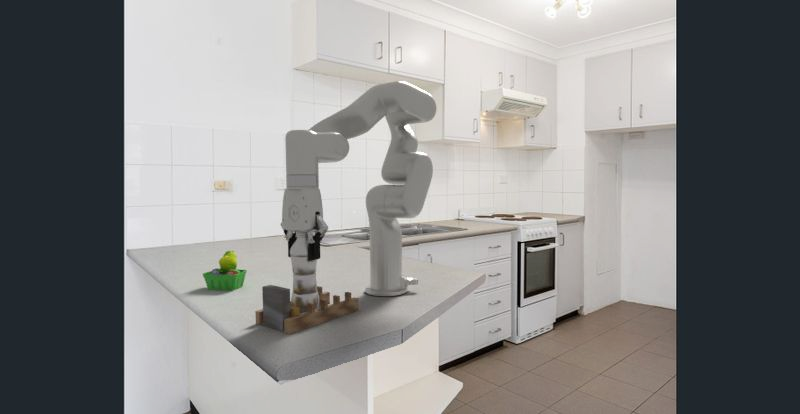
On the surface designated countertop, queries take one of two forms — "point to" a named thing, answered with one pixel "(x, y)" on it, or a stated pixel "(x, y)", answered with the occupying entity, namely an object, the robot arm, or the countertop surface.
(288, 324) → the wooden peg rack
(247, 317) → the countertop surface
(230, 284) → the fruit basket
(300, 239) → the grey bulging hollow cylinder
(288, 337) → the countertop surface
